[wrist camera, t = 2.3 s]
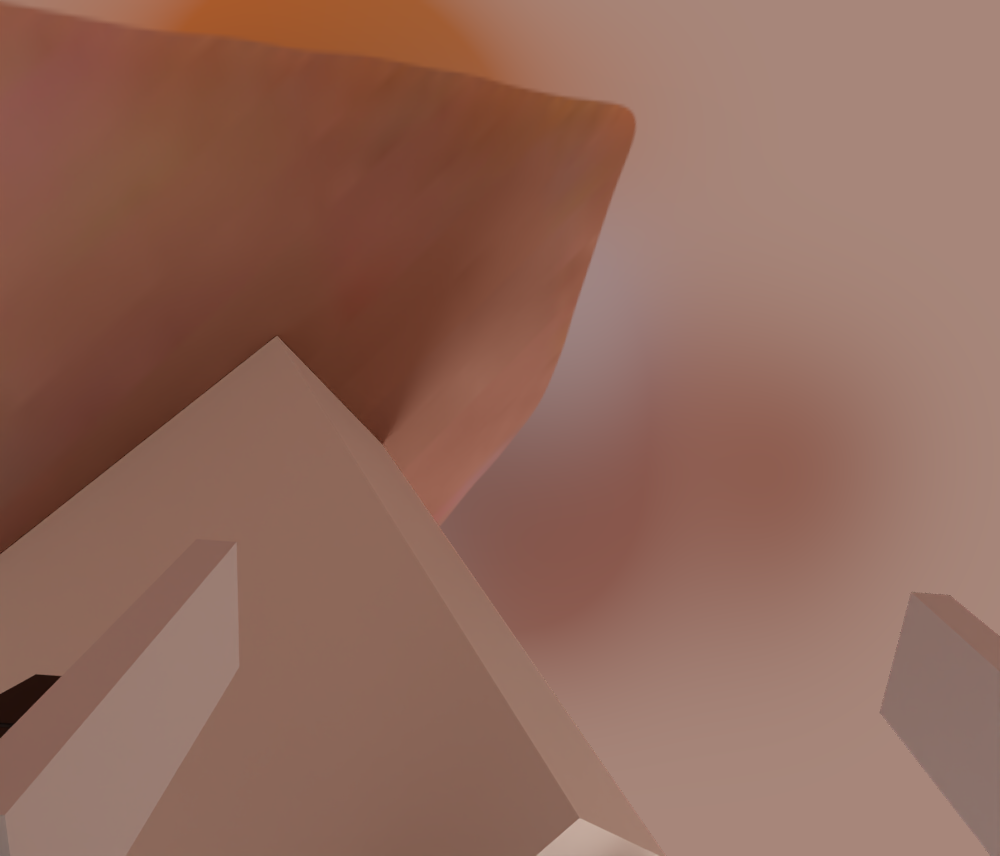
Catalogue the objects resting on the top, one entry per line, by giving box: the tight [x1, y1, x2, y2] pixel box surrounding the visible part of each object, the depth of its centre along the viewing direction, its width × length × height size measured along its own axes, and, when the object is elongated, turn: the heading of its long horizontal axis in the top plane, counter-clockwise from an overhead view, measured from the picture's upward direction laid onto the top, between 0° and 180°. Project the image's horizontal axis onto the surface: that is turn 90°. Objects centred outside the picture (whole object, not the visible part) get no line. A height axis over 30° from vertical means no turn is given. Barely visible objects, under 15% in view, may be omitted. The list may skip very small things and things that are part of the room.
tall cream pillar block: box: [0, 336, 666, 856], centre depth 41 cm, size 14×30×37 cm, turn 117°
